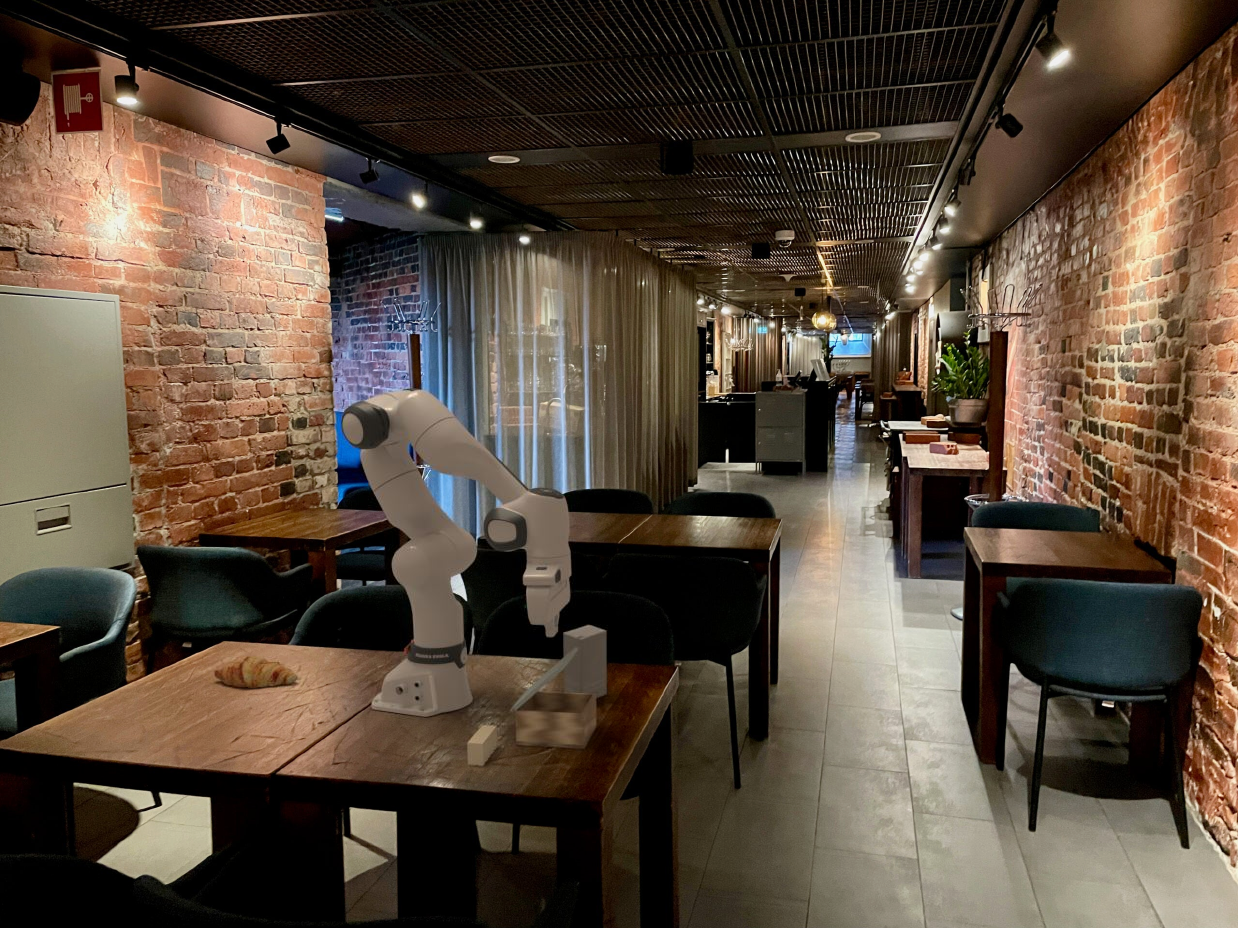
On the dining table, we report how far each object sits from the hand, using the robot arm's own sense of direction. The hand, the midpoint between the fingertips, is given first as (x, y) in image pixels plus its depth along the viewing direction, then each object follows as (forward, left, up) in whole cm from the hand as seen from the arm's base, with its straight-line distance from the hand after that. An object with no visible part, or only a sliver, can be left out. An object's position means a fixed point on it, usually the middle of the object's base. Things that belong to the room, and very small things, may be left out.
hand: (551, 635), depth 187 cm
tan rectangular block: (-11, -12, -21) cm, 27 cm away
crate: (+1, 0, -21) cm, 21 cm away
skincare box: (+2, +23, -21) cm, 31 cm away
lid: (-2, 0, -10) cm, 10 cm away
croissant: (-80, +21, -22) cm, 86 cm away
